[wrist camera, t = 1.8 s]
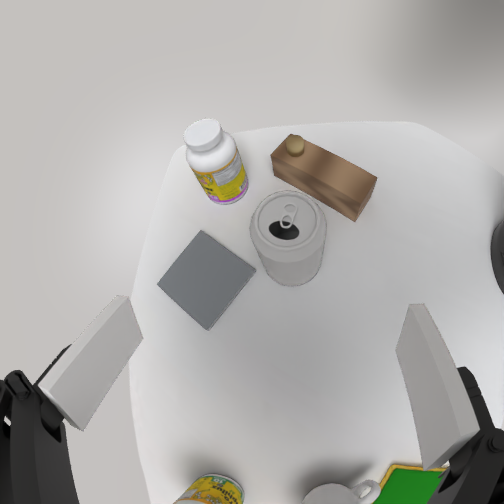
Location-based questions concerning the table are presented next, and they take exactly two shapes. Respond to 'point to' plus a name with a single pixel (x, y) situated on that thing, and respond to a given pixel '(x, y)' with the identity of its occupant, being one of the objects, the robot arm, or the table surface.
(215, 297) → the trivet
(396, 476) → the dish sponge
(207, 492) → the supplement bottle
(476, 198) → the table surface
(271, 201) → the can
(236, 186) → the supplement bottle
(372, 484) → the cup
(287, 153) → the walnut block
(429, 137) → the table surface
